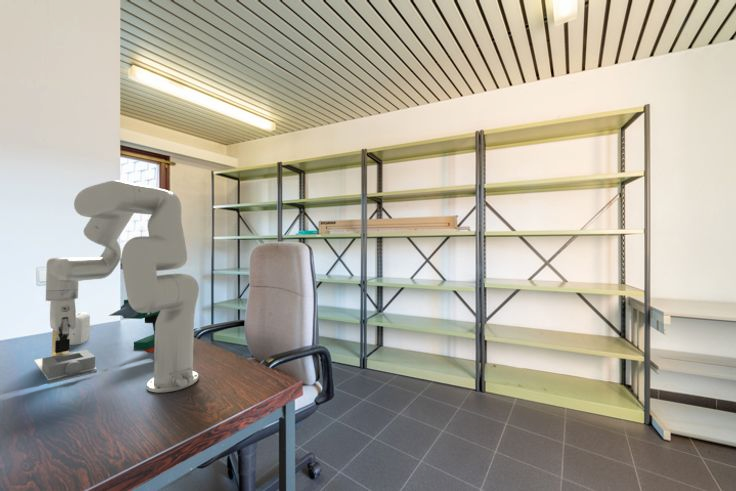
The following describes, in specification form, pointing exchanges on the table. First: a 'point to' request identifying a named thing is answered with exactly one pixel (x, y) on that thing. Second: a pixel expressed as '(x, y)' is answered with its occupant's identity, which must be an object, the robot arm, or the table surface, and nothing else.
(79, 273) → the robot arm
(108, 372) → the table surface
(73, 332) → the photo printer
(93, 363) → the grey slotted block
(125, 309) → the power tool
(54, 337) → the tan rectangular block
